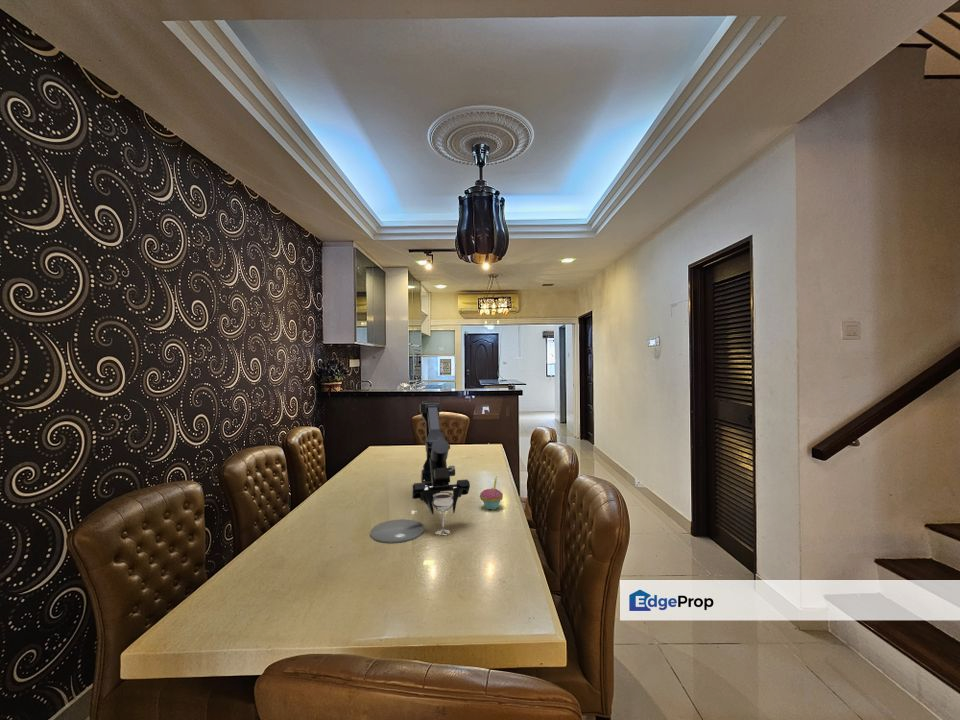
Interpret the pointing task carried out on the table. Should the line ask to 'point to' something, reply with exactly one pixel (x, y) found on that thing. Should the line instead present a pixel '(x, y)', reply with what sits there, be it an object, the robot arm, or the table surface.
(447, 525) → the table surface
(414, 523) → the slate plate
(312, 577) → the table surface
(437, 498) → the wineglass
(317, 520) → the table surface
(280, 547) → the table surface
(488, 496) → the cupcake
